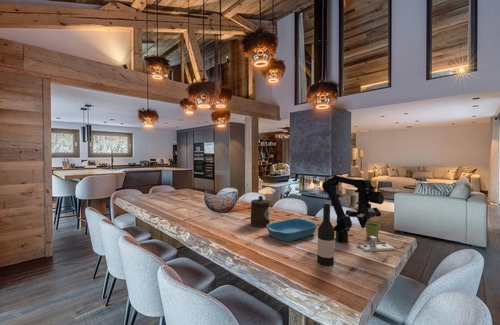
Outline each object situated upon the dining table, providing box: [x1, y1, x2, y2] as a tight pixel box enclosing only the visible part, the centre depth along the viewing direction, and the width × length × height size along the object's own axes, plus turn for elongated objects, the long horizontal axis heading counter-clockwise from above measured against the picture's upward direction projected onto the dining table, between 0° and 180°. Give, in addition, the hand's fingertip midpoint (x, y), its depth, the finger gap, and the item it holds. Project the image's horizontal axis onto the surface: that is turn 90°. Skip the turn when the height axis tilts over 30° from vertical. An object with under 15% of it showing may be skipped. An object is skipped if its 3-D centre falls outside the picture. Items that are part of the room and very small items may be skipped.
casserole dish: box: [266, 218, 318, 242], centre depth 158 cm, size 37×22×7 cm, turn 125°
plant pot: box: [364, 222, 381, 239], centre depth 154 cm, size 9×9×9 cm
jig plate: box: [356, 241, 396, 252], centre depth 137 cm, size 18×8×2 cm, turn 98°
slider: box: [368, 236, 378, 247], centre depth 136 cm, size 3×4×5 cm
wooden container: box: [250, 195, 271, 228], centre depth 180 cm, size 15×15×22 cm
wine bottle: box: [316, 202, 336, 268], centre depth 116 cm, size 8×8×30 cm
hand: (362, 228), depth 135 cm, fingers closed
